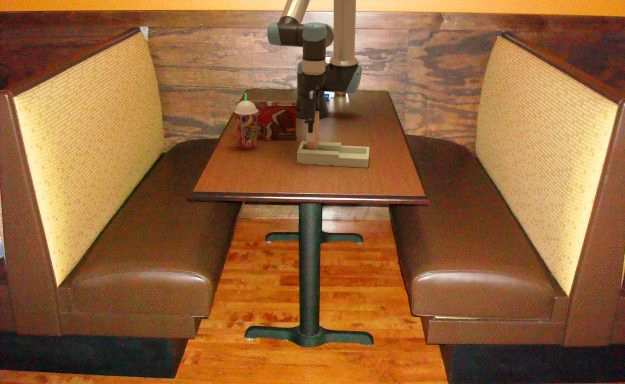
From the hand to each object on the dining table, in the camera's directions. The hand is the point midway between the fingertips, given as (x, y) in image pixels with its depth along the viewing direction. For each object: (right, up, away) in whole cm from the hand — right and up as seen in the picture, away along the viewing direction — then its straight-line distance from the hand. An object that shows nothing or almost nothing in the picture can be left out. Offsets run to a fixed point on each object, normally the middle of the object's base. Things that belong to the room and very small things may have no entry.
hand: (312, 135), depth 199 cm
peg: (0, -7, +3) cm, 7 cm away
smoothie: (-24, -3, +12) cm, 27 cm away
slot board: (+7, -8, +3) cm, 11 cm away
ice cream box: (-16, +1, +22) cm, 28 cm away
